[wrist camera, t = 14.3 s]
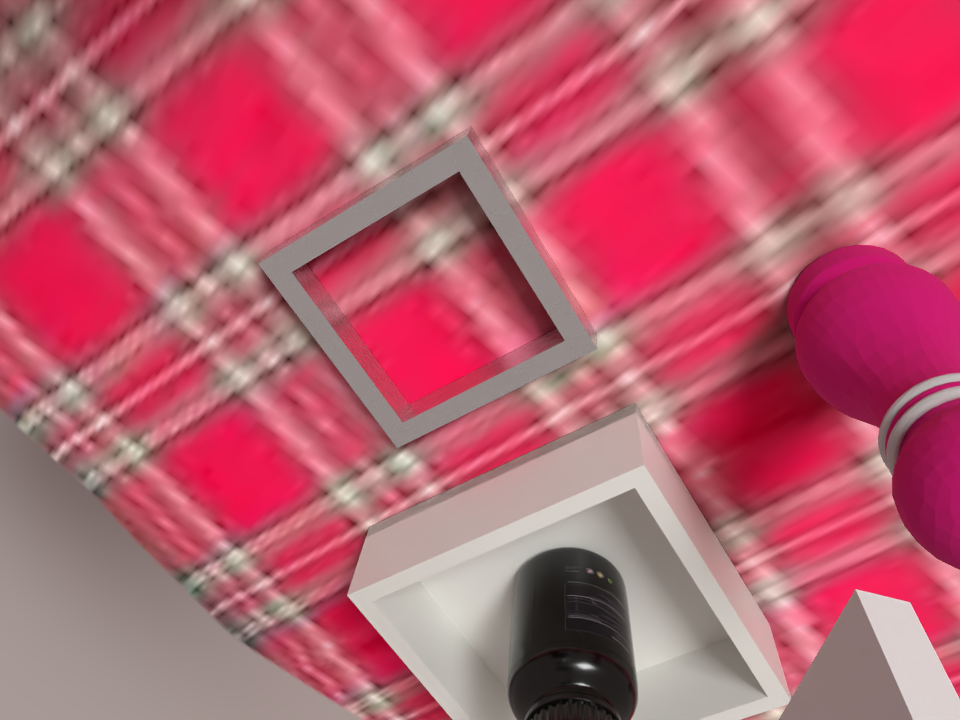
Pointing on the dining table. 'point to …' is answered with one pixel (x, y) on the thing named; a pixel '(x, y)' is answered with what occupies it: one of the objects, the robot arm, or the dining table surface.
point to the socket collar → (353, 354)
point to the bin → (581, 524)
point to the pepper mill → (890, 374)
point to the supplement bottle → (571, 640)
